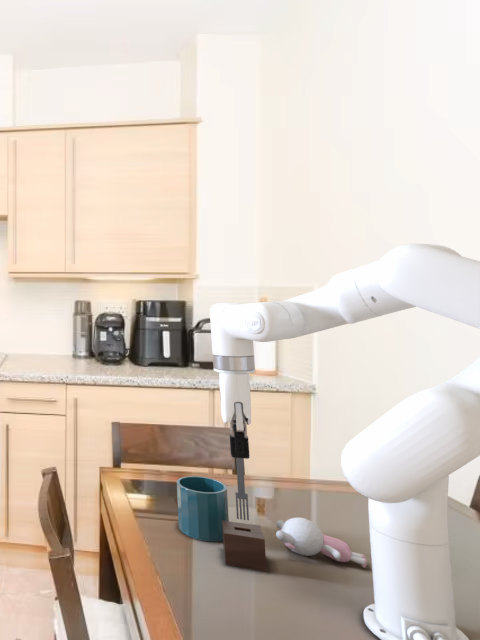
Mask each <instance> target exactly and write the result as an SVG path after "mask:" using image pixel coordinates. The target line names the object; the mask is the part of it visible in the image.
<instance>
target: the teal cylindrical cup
mask: <svg viewBox="0 0 480 640" xmlns="http://www.w3.org/2000/svg"><path fill="white" fill-rule="evenodd" d="M176 495H177V517H178V518H177V519H178V520H177V521H178V528H179V530H180V531H181V533H183V534H184V535H186V536H188V537H190V538H192V539H196V540H199V541H203V542H221V541H222V542H223V531H222V520H223V521H229V520H230V519H229V502H228V487H227V485H226V484H224V483H223V481H220V480H217V479H215V478H211V477H207V476H199V475H187V476H182V477H179V478H178V479H177V480H176Z"/></svg>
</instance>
